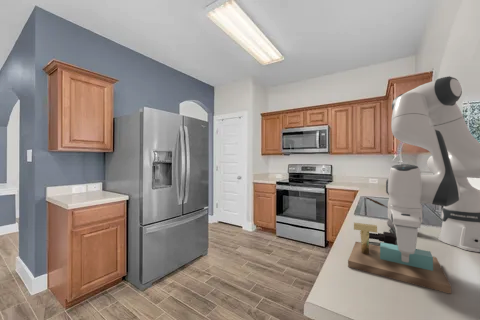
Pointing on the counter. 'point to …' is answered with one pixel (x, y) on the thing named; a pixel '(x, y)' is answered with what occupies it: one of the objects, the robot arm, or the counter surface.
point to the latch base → (398, 269)
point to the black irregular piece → (385, 237)
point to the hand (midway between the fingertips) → (404, 257)
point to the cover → (416, 260)
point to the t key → (365, 235)
